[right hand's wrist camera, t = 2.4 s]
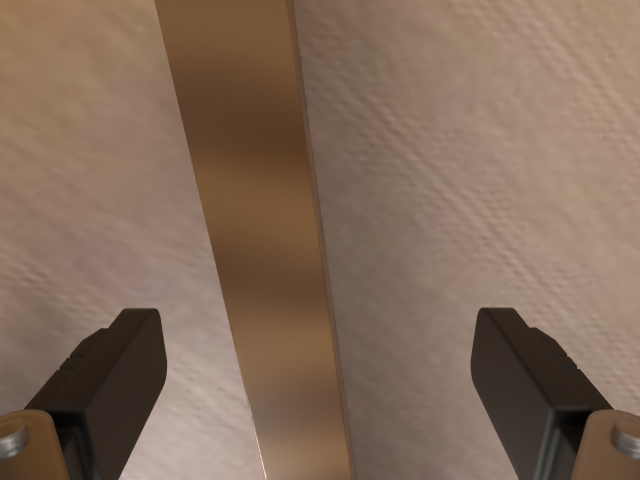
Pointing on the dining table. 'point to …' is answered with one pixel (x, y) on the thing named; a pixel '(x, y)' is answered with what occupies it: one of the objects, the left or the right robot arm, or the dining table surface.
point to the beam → (264, 223)
